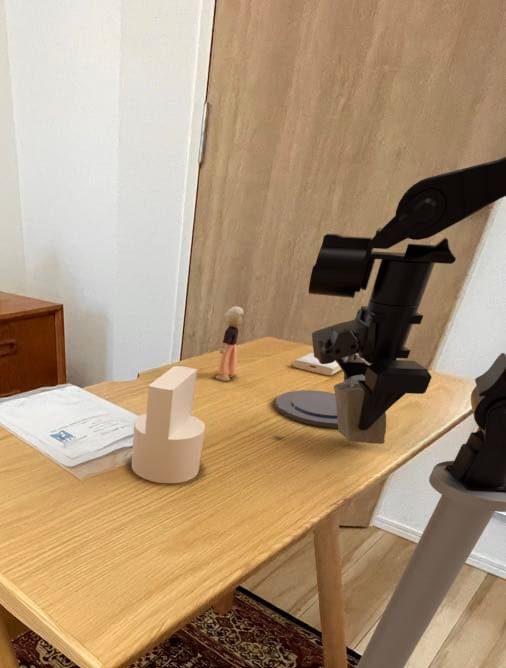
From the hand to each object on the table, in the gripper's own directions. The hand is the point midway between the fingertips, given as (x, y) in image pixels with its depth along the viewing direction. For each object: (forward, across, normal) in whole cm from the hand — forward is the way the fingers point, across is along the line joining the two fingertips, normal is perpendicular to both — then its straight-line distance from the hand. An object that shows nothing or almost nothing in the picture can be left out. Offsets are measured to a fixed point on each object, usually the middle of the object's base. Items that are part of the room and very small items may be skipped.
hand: (354, 420), depth 70 cm
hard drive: (+4, -39, +8) cm, 40 cm away
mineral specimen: (+2, 0, 0) cm, 2 cm away
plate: (+4, -13, 0) cm, 13 cm away
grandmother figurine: (+4, -29, -14) cm, 33 cm away
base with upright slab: (+4, +10, -27) cm, 29 cm away
